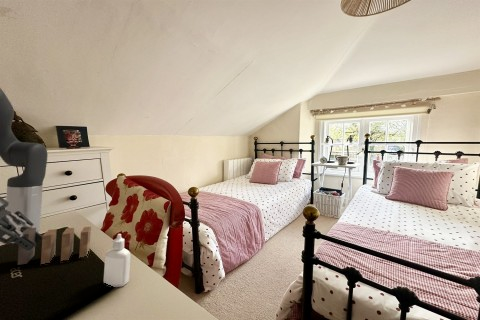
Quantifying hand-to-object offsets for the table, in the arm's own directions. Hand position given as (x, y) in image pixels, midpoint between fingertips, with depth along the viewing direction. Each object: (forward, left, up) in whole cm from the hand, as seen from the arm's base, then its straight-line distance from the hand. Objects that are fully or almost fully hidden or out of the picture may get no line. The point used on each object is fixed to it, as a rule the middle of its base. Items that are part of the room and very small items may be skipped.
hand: (36, 243), depth 58 cm
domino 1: (+1, +3, -5) cm, 6 cm away
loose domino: (-1, -2, -4) cm, 5 cm away
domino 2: (+2, +7, -5) cm, 9 cm away
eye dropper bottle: (+24, +13, -5) cm, 28 cm away
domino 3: (+4, +10, -5) cm, 12 cm away
